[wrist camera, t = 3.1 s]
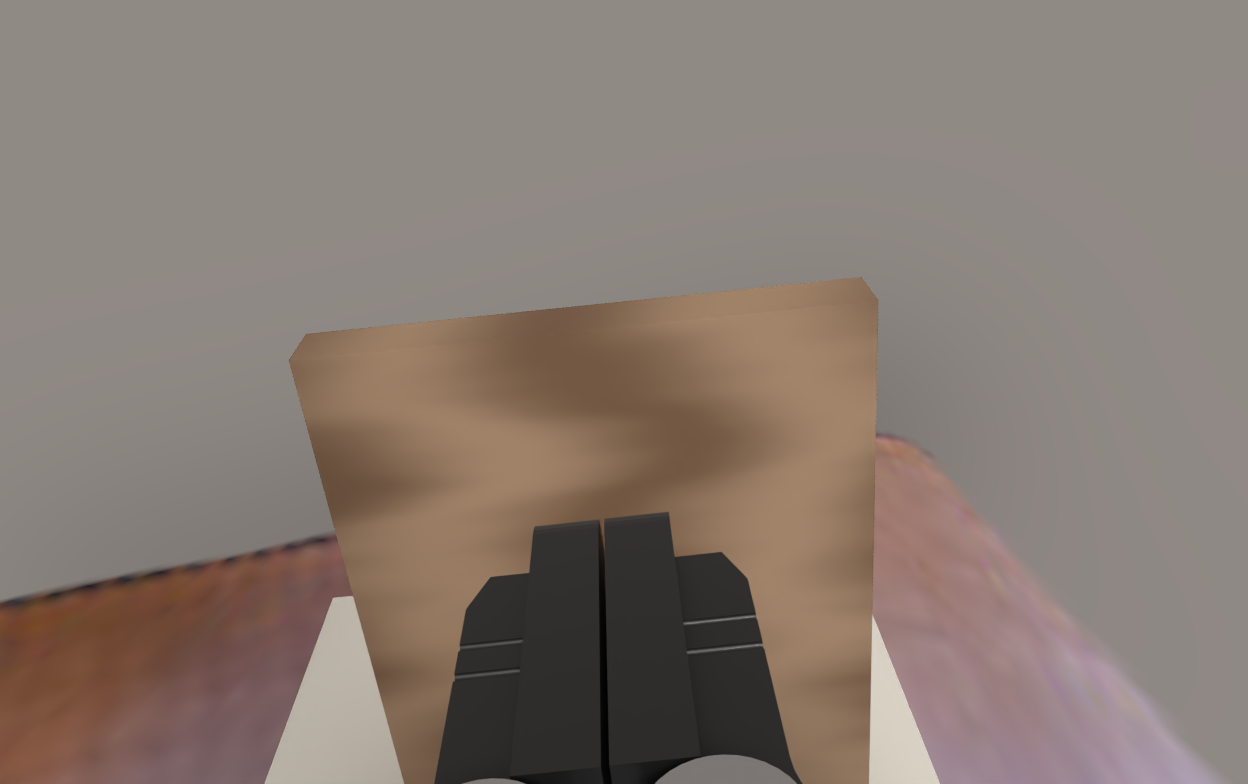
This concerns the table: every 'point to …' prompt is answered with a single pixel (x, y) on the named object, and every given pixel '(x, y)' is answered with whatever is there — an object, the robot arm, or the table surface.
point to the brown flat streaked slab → (611, 478)
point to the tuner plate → (365, 755)
